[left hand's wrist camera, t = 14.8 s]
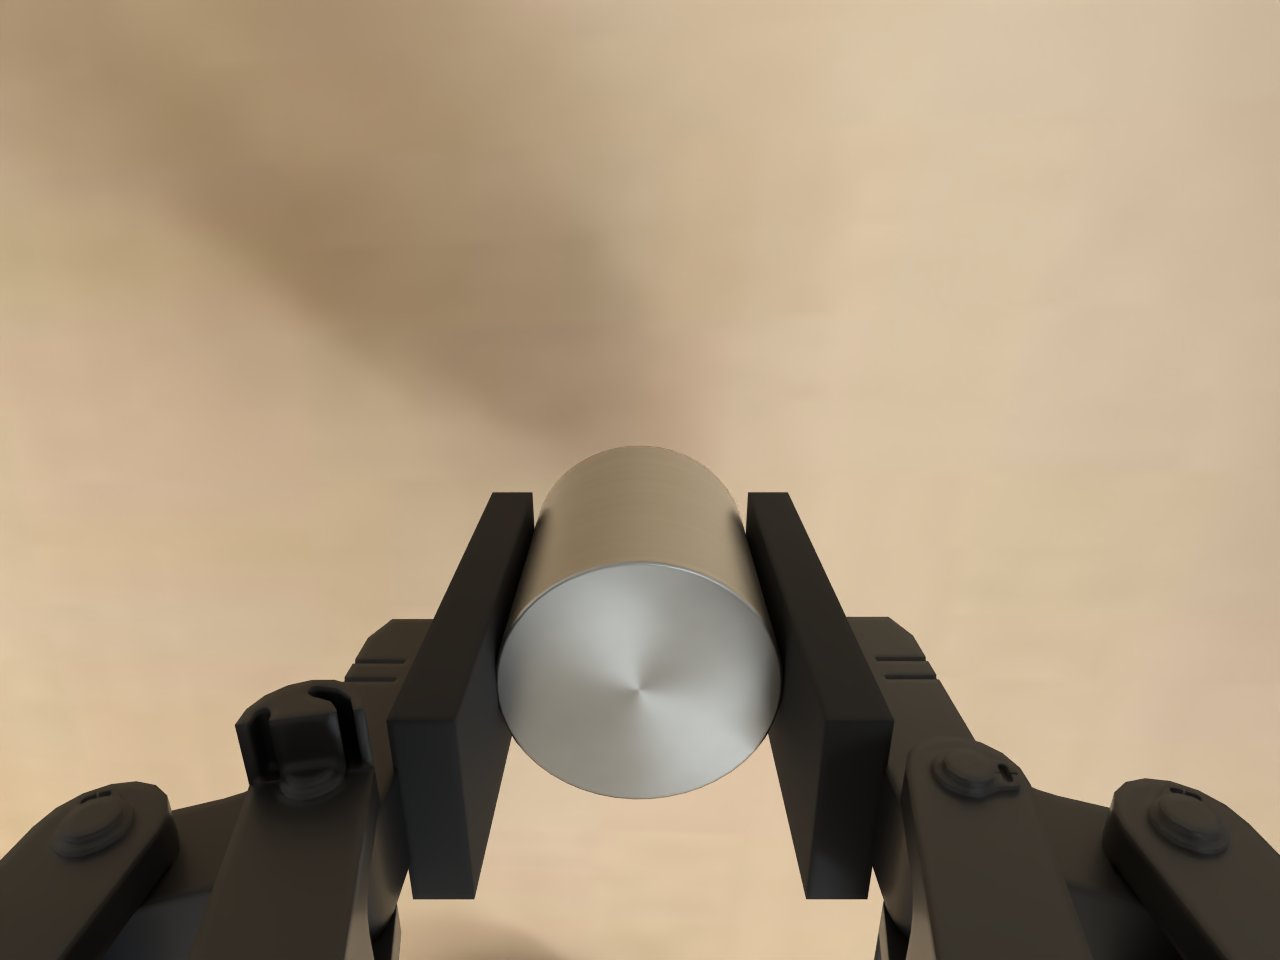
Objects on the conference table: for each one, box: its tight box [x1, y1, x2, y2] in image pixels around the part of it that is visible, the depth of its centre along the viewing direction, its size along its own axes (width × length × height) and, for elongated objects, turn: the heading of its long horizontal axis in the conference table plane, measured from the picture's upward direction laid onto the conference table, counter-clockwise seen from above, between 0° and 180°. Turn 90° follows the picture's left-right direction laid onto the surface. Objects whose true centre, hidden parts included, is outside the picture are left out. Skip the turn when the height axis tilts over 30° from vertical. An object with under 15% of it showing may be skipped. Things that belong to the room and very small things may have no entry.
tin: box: [495, 446, 784, 799], centre depth 13 cm, size 4×4×5 cm
